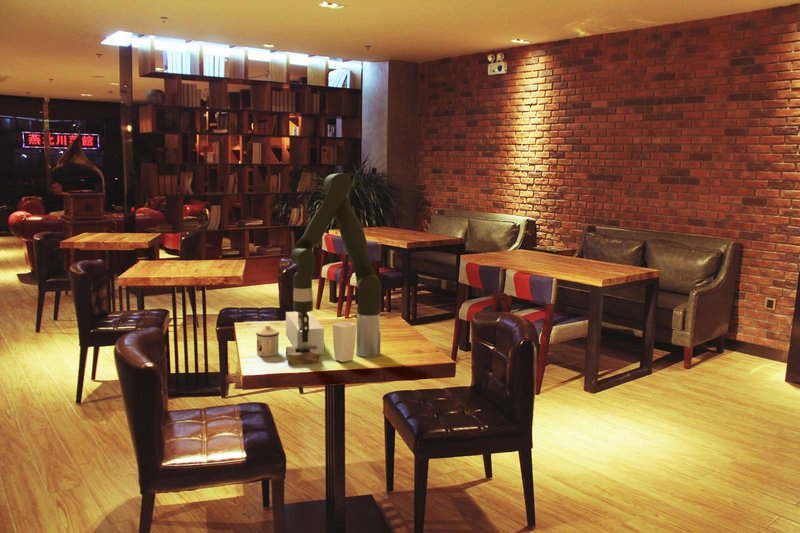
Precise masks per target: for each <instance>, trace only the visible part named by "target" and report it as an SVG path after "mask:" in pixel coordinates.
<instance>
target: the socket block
mask: <svg viewBox="0 0 800 533" xmlns="http://www.w3.org/2000/svg"><path fill="white" fill-rule="evenodd" d="M285 358H286V361H288V362H287V364H288V366H300V365H302V366H305V365H306V364H307V365H320V364H321V363H320V362H321V354H320V353H319V351H318V349H317V347H316V346H308V352H299V353H297V346H294V347H293V346H285Z"/></svg>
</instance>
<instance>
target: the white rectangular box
mask: <svg viewBox="0 0 800 533" xmlns="http://www.w3.org/2000/svg"><path fill="white" fill-rule="evenodd" d="M307 314H308V316H309V332H308V346H316V347H317V349H318V351H319V353H321V354H324V353H325V352H324V351H325V350H324V348H325V347H324V346H325V344H324V343H325V342H324V341H325V336H324V335H325V328H324V326H322V324H321V323H320V322H319V321H318V320H317V318H316V317H315V316H314V315H313V314H312V311H310V312H307ZM305 329H307V328H305ZM298 330H299V324H298V312H295V311H285V336H286V338H287V337H288V338H287V339H288V341H289V343H290V344H292V345H291V347H294V346H297V331H298Z"/></svg>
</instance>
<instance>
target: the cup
mask: <svg viewBox="0 0 800 533" xmlns="http://www.w3.org/2000/svg"><path fill="white" fill-rule="evenodd" d="M356 336H357V323H353V322H350V321H339V322H334V323H333V324H332V339H333V340H332V341H333V342H332V344H333V355H334V359H335V360H336V361H338V362H339V363H347V362H351V361H353V360H354V354H355V347H356Z"/></svg>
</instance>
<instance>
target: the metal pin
mask: <svg viewBox="0 0 800 533" xmlns="http://www.w3.org/2000/svg"><path fill="white" fill-rule="evenodd" d="M301 331H302V329H300V330H298V331H297V353H299V352H308V342H302V332H301Z"/></svg>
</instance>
